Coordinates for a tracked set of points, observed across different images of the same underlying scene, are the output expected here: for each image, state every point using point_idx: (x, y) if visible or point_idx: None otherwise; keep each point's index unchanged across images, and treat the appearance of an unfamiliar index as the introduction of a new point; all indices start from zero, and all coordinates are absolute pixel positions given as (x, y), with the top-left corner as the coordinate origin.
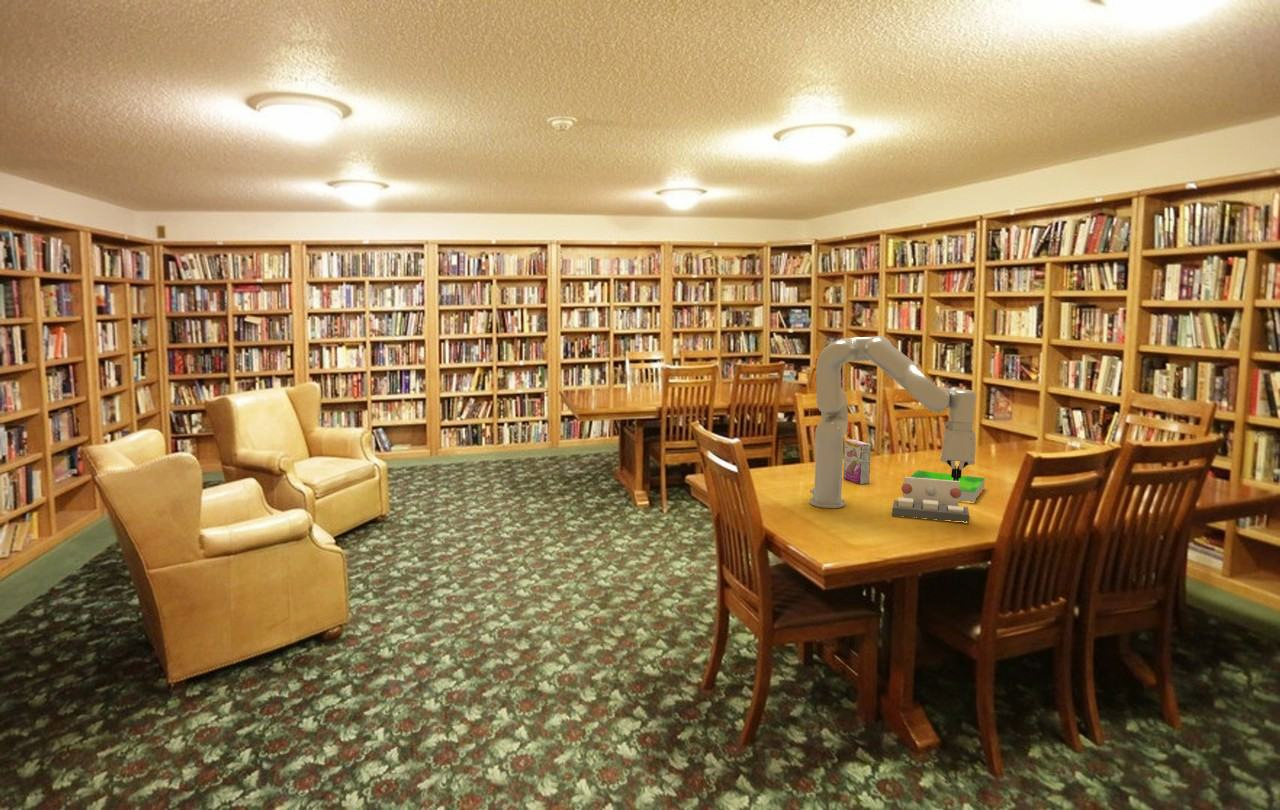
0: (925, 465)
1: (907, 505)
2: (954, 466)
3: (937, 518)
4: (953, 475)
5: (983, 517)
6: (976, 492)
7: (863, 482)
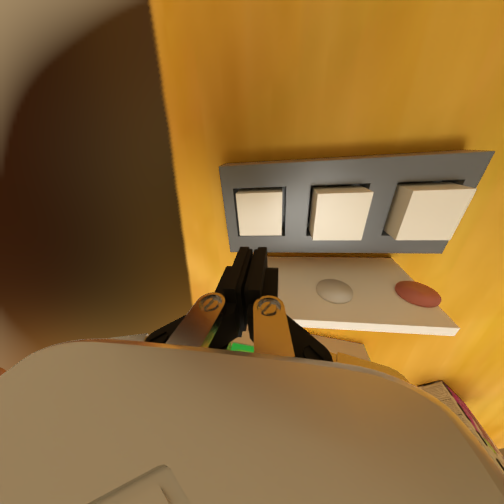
0: None
1: (425, 186)
2: (259, 314)
3: (313, 159)
4: (266, 272)
5: (200, 239)
6: None
7: (435, 386)
